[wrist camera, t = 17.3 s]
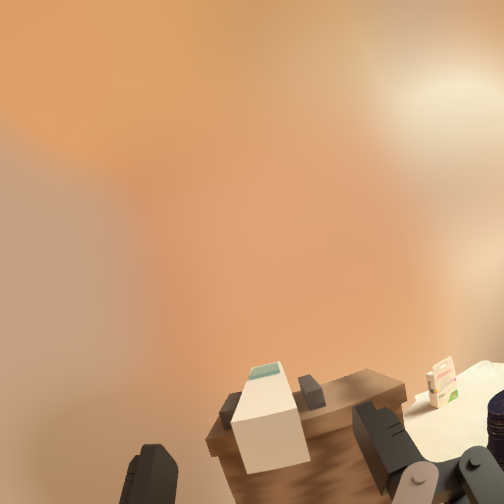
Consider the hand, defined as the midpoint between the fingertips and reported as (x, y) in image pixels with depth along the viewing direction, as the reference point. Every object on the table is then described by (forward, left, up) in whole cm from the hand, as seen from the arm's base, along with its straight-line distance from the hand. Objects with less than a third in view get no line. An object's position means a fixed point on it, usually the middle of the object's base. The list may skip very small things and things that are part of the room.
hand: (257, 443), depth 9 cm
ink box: (-48, -63, -37) cm, 88 cm away
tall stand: (-3, -19, -37) cm, 41 cm away
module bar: (0, -17, -5) cm, 17 cm away
